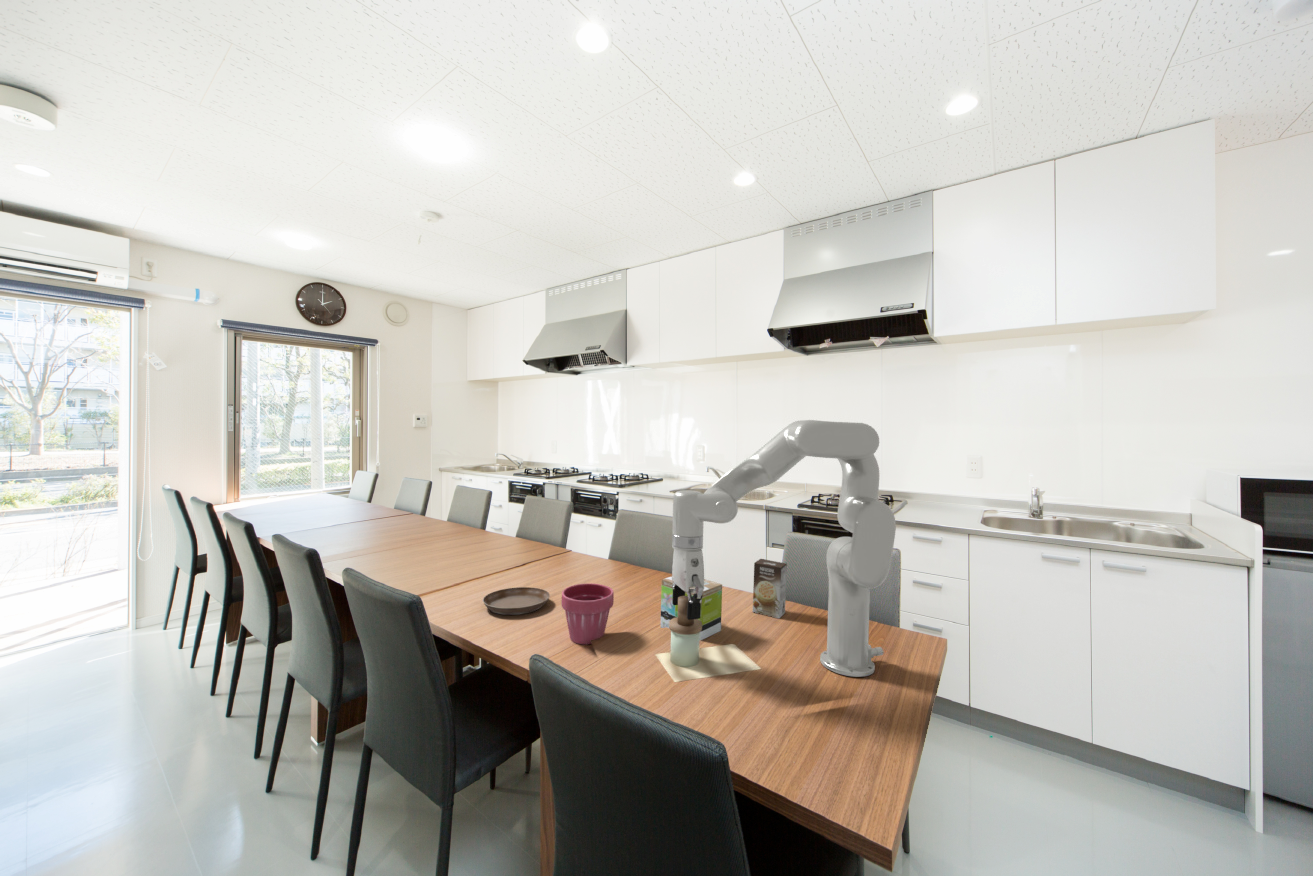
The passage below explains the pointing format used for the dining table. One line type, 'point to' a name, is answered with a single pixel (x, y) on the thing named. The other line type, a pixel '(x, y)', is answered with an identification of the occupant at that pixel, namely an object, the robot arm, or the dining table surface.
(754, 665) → the board
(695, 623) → the lid
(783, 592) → the coffee box
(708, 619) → the tea box
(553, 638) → the dining table surface
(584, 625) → the plant pot
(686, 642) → the jar
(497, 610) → the plant saucer
